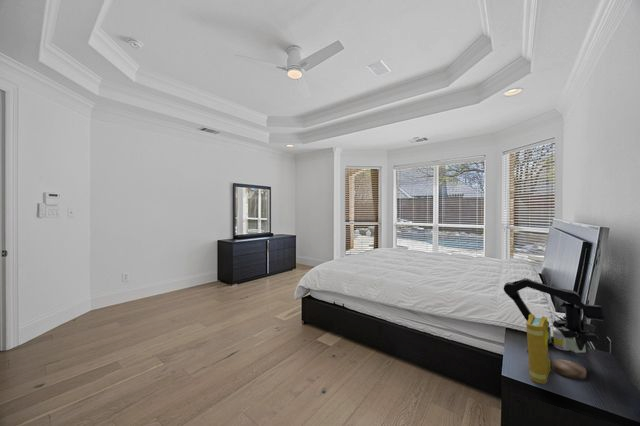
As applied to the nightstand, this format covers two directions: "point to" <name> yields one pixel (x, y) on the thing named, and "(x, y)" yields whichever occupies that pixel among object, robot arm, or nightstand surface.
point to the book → (538, 348)
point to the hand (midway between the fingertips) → (575, 347)
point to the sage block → (573, 345)
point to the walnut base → (569, 369)
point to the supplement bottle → (559, 339)
